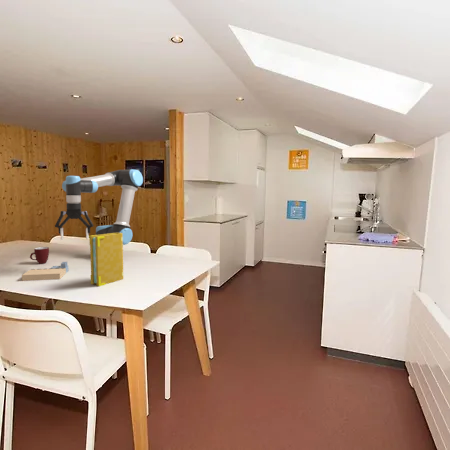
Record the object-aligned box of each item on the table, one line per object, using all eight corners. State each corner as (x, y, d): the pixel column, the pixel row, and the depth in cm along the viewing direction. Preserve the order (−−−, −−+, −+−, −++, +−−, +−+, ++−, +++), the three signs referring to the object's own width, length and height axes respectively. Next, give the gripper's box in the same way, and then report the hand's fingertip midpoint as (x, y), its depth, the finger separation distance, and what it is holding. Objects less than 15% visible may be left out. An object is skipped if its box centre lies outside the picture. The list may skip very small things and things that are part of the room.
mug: (31, 265, 192) (30, 250, 191) (29, 263, 198) (28, 248, 197) (50, 263, 199) (50, 248, 197) (48, 261, 205) (47, 246, 204)
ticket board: (65, 273, 176) (65, 267, 176) (59, 279, 165) (59, 273, 164) (30, 274, 172) (30, 269, 172) (22, 280, 160) (21, 274, 160)
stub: (68, 270, 182) (68, 261, 181) (66, 272, 177) (65, 263, 176) (53, 271, 180) (53, 261, 179) (50, 273, 175) (50, 264, 174)
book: (99, 286, 153) (97, 236, 151) (90, 284, 157) (89, 235, 154) (126, 278, 168) (125, 233, 165) (118, 276, 171) (117, 232, 168)
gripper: (97, 202, 184) (98, 237, 186) (52, 202, 178) (53, 238, 180) (95, 203, 176) (96, 239, 179) (47, 202, 171) (49, 240, 173)
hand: (74, 239), depth 179 cm, fingers open, 13 cm apart
